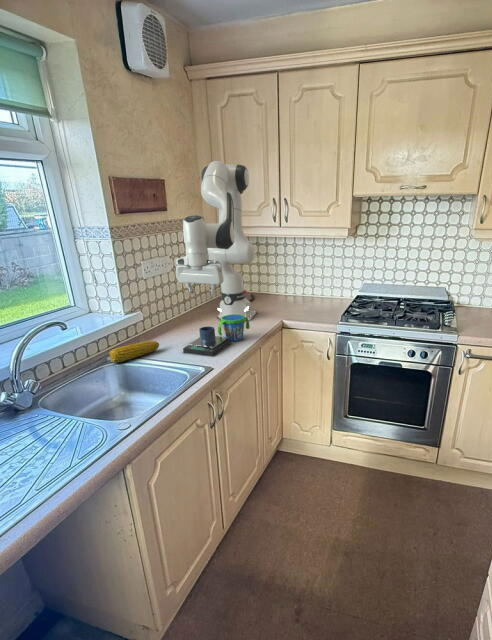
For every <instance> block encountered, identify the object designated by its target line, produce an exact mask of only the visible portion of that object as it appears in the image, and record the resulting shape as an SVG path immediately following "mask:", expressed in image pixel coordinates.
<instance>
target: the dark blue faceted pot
mask: <svg viewBox="0 0 492 640" xmlns="http://www.w3.org/2000/svg"><path fill="white" fill-rule="evenodd" d="M215 330H216V329H215V327H214V326H202V327H200V328H199V329H198V332H199V337H200V340H201V342H202V343H212V342H215V336H216V331H215Z"/></svg>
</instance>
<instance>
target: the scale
mask: <svg viewBox="0 0 492 640" xmlns="http://www.w3.org/2000/svg"><path fill="white" fill-rule="evenodd" d="M231 344H232V341H231V339H227V340H226V341H224V342H223V343H221V344H220V345H218V346H217V347H216V348H214V349H209V348H201V347H191V346H188V345H186V346H184V347H182V350H183V353H184V354H191V355H199V356H200V355H201V356H208V357H214V356H216V355H217V354H219V353H220V352H221V351H222V350H224V349H225V348H227V347H228V346H230V345H231Z"/></svg>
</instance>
